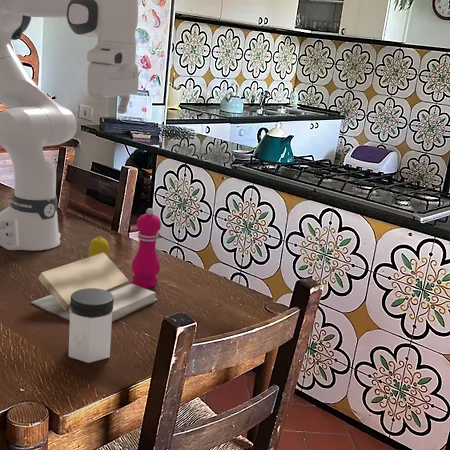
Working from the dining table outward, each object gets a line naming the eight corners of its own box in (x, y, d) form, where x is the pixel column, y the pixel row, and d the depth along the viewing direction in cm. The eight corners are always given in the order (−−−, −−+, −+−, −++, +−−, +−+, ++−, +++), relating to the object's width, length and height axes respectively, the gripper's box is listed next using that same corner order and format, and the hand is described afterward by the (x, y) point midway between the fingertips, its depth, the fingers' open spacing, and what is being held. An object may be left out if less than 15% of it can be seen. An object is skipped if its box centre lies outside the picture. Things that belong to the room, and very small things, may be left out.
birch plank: (38, 278, 139) (41, 272, 138) (100, 257, 156) (103, 252, 155) (64, 310, 136) (68, 304, 135) (125, 286, 153) (129, 280, 152)
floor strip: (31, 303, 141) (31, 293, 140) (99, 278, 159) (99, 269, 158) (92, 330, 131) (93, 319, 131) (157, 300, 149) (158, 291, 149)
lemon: (94, 269, 164) (95, 240, 162) (84, 262, 168) (85, 234, 166) (112, 266, 168) (114, 238, 166) (102, 259, 172) (103, 232, 169)
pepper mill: (153, 290, 155) (159, 214, 149) (126, 285, 156) (131, 209, 150) (162, 280, 162) (168, 207, 156) (136, 276, 163) (140, 202, 157)
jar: (58, 354, 120) (59, 297, 117) (82, 338, 128) (84, 284, 124) (97, 367, 117) (100, 309, 114) (120, 349, 125) (123, 294, 121)
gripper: (123, 54, 154) (120, 110, 158) (83, 53, 135) (80, 116, 139) (146, 56, 153) (143, 113, 156) (109, 56, 134) (106, 120, 137)
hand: (113, 115), depth 148 cm, fingers open, 8 cm apart
